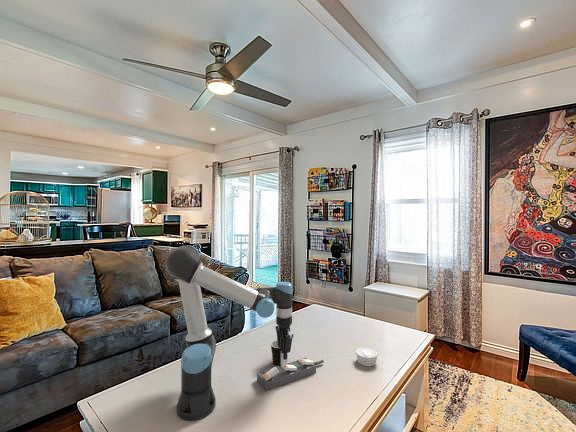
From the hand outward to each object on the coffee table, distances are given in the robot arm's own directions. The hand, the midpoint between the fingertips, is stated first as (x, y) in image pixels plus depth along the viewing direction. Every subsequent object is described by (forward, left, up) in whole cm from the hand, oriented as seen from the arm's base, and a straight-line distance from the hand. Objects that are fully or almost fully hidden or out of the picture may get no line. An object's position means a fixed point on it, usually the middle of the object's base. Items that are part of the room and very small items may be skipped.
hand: (283, 364), depth 135 cm
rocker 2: (+3, 0, -2) cm, 4 cm away
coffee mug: (+7, +16, -8) cm, 19 cm away
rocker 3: (+13, 0, -2) cm, 13 cm away
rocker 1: (-7, 0, -2) cm, 7 cm away
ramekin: (+47, -8, -8) cm, 48 cm away
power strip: (+7, +2, -7) cm, 10 cm away
